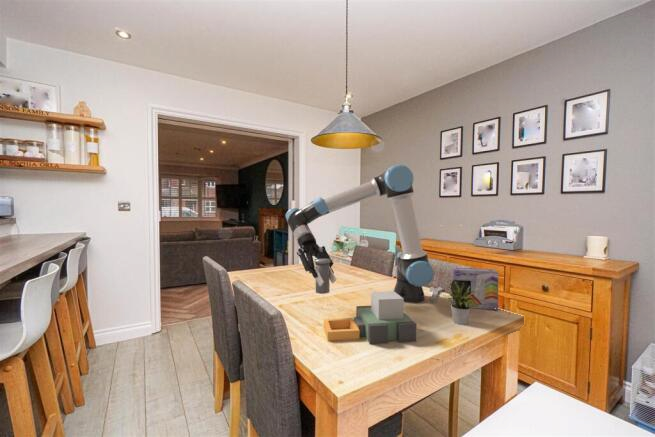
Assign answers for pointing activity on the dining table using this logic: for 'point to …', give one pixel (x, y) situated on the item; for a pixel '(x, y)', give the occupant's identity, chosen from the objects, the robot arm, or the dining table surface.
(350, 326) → the green corner-block plate
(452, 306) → the house plant
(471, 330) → the dining table surface
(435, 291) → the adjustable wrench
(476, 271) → the cake pan box
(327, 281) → the grey flared cylinder
